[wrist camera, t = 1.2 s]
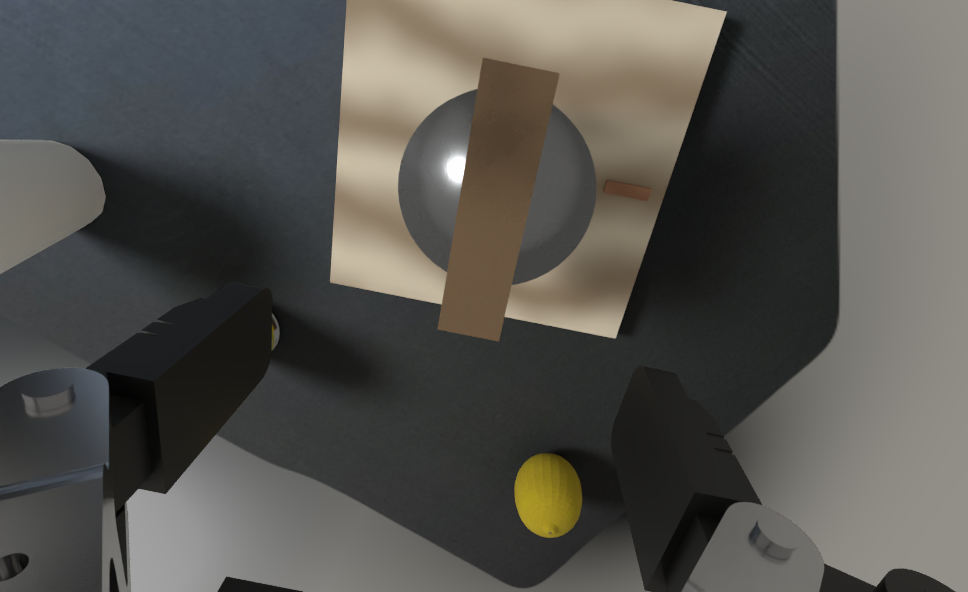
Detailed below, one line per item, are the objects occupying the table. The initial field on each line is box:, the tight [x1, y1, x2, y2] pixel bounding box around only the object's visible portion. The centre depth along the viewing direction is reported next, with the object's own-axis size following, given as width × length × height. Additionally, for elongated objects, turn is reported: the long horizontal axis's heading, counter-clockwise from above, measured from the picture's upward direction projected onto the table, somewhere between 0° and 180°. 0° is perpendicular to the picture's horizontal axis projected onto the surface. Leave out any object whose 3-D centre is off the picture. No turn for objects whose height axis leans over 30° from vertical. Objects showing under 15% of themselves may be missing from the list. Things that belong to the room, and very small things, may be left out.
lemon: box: [515, 453, 582, 538], centre depth 41 cm, size 6×6×8 cm
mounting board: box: [330, 0, 727, 339], centre depth 34 cm, size 22×22×2 cm
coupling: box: [398, 58, 597, 341], centre depth 27 cm, size 13×10×12 cm
